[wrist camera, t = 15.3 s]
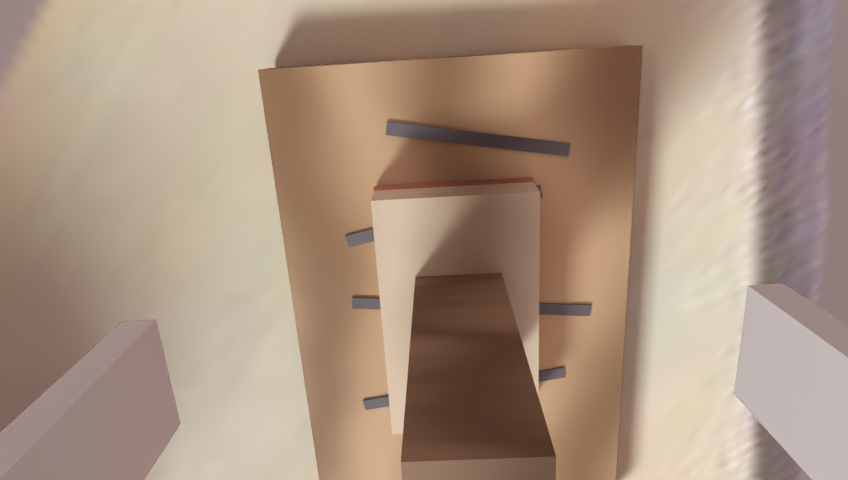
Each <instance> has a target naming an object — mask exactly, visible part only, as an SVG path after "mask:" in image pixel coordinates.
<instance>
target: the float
mask: <svg viewBox="0 0 848 480" xmlns="http://www.w3.org/2000/svg"><path fill="white" fill-rule="evenodd" d="M373 190H374V194H373V196H372V199H371V210H372V221H373V231H374V242H375V253H376V264H377V275H378V286H379V297H380V308H381V319H382V329H383V340H384V351H385V362H386V373H387V384H388V395H389V406H390V417H391V427H392V435H396V434H403V439H402V452H401V471H402V480H556V454H555V451H554V447H553V444H552V441H551V437H550V434H549V431H548V427H547V424H546V421H545V417H544V414H543V410H542V407H541V404H540V400H539V397H538V383H539V270H540V191H539V190H538V188H537V187H536V185H535V184H534V179H533V178H532V177H526V178H507V179H489V180H470V181H451V182H432V183H414V184H395V185H376V186H375V187H374V189H373Z"/></svg>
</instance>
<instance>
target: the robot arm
mask: <svg viewBox="0 0 848 480" xmlns="http://www.w3.org/2000/svg"><path fill="white" fill-rule="evenodd" d="M734 394H735V395H736V396H737V398H738V399H739V400H740V401H741V402H742V403H743V404H744V405H745V406H746V407H747V409H748V410H749V411H750V412H751V413H752V414H753V415H754V416H755V417H756V418H757V420H758V421H759V422H760V423H761V424H762V425H763V426H764V427H765V428H766V429H767V431H768V432H769V433H770V434H771V435H772V436H773V437H774V438H775V439H776V440H777V442H778V443H779V444H780V445H781V446H782V447H783V448H784V449H785V450H786V451H787V453H788V454H789V455H790V456H791V457H792V458H793V459H794V460H795V461H796V462H797V464H798V465H799V466H800V467H801V468H802V469H803V470H804V471H805V472H806V473H807V475H808V476H809V477H810V478H811V479H812V480H848V325H846V324H845V323H843V322H842V321H840V320H839V319H837V318H836V317H834V316H832V315H831V314H829V313H828V312H826V311H825V310H823V309H822V308H820V307H819V306H817V305H815V304H814V303H812V302H811V301H809V300H808V299H806V298H805V297H803V296H802V295H800V294H798V293H797V292H795V291H794V290H792V289H791V288H789V287H788V286H786V285H785V284H769V285H751V286H748V290H747V298H746V306H745V313H744V321H743V328H742V336H741V343H740V351H739V358H738V366H737V374H736V381H735V389H734ZM179 425H180V420H179V416H178V412H177V407H176V403H175V399H174V395H173V390H172V386H171V382H170V377H169V373H168V369H167V365H166V360H165V356H164V352H163V348H162V343H161V339H160V335H159V330H158V326H157V322H156V320H140V321H123V322H121V323H120V324H119V325H118V326H117V327H115V328H114V329H113V330H112V331H111V332H110V333H109V334H108V335H107V336H106V337H104V338H103V339H102V340H101V341H100V342H99V343H98V344H97V345H96V346H95V347H93V348H92V349H91V350H90V351H89V352H88V353H87V354H86V355H85V356H84V357H82V358H81V359H80V360H79V361H78V362H77V363H76V364H75V365H74V366H73V367H71V368H70V369H69V370H68V371H67V372H66V373H65V374H64V375H63V376H62V377H60V378H59V379H58V380H57V381H56V382H55V383H54V384H53V385H52V386H51V387H49V388H48V389H47V390H46V391H45V392H44V393H43V394H42V395H41V396H40V397H38V398H37V399H36V400H35V401H34V402H33V403H32V404H31V405H30V406H29V407H27V408H26V409H25V410H24V411H23V412H22V413H21V414H20V415H19V416H18V417H16V418H15V419H14V420H13V421H12V422H11V423H10V424H9V425H8V426H7V427H5V428H4V429H3V430H2V431H1V432H0V480H144V479H145V478H146V476H147V475H148V473H149V472H150V470H151V469H152V467H153V465H154V464H155V462H156V461H157V459H158V458H159V456H160V455H161V453H162V452H163V450H164V448H165V447H166V445H167V444H168V442H169V441H170V439H171V438H172V436H173V434H174V433H175V431H176V430H177V428H178V427H179Z"/></svg>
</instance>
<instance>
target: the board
mask: <svg viewBox="0 0 848 480" xmlns="http://www.w3.org/2000/svg"><path fill="white" fill-rule="evenodd" d="M641 63H642V46H614V47H598V48H582V49H566V50H551V51H535V52H519V53H503V54H487V55H472V56H456V57H440V58H424V59H408V60H392V61H377V62H361V63H345V64H329V65H313V66H297V67H282V68H268V69H261V70H258V72H259V79H260V85H261V92H262V99H263V105H264V112H265V119H266V125H267V132H268V139H269V146H270V152H271V159H272V166H273V172H274V179H275V186H276V192H277V199H278V206H279V212H280V219H281V226H282V233H283V239H284V246H285V253H286V259H287V266H288V273H289V279H290V286H291V293H292V299H293V306H294V313H295V320H296V326H297V333H298V340H299V346H300V353H301V360H302V366H303V373H304V380H305V386H306V393H307V400H308V407H309V413H310V420H311V427H312V433H313V440H314V447H315V453H316V460H317V467H318V473H319V480H402V471H401V452H402V439H403V434H396V435H392V427H391V417H390V406H389V395H388V384H387V373H386V362H385V351H384V340H383V329H382V319H381V308H380V297H379V286H378V275H377V264H376V253H375V242H374V231H373V221H372V210H371V199H372V196H373V194H374V190H373V189H374V187H375V186H376V185H395V184H414V183H432V182H451V181H470V180H489V179H507V178H526V177H532V178H533V179H534V184H535V185H536V187H537V188H538V190H539V191H540V270H539V383H538V397H539V400H540V404H541V407H542V410H543V414H544V417H545V421H546V424H547V427H548V431H549V434H550V437H551V441H552V444H553V447H554V451H555V454H556V480H616V468H617V452H618V436H619V420H620V403H621V387H622V371H623V355H624V338H625V322H626V306H627V290H628V274H629V257H630V241H631V225H632V209H633V192H634V176H635V160H636V144H637V128H638V111H639V95H640V79H641Z"/></svg>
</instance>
